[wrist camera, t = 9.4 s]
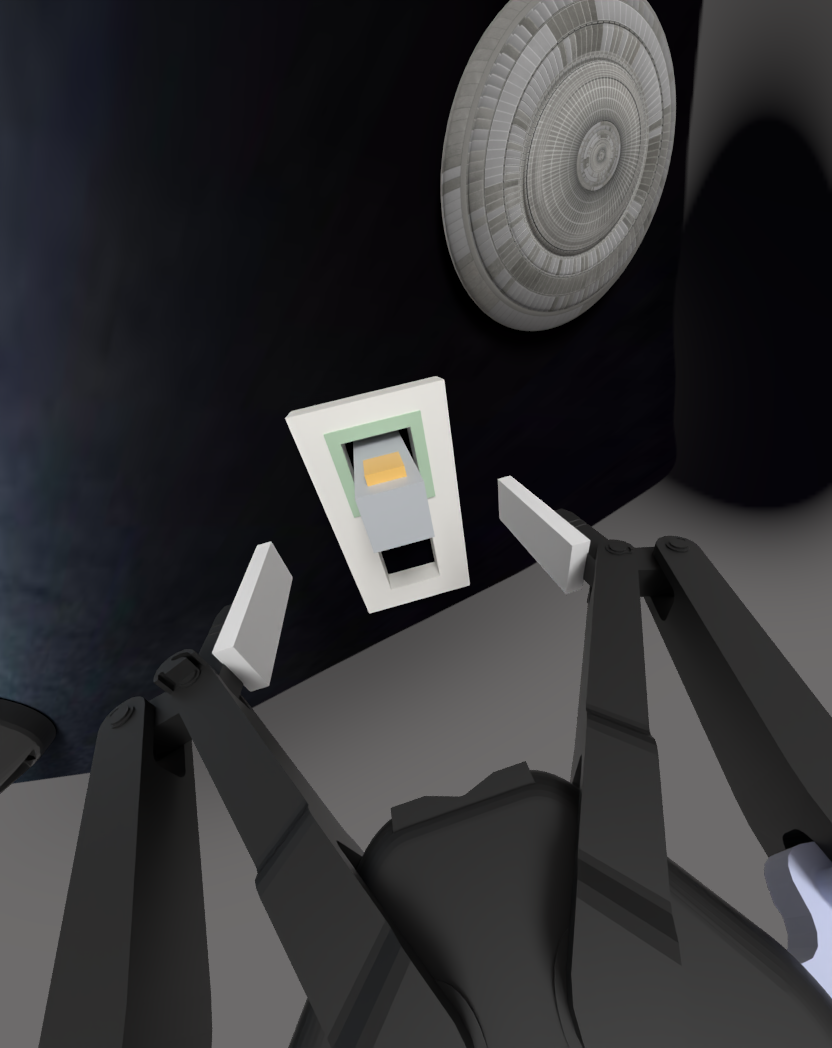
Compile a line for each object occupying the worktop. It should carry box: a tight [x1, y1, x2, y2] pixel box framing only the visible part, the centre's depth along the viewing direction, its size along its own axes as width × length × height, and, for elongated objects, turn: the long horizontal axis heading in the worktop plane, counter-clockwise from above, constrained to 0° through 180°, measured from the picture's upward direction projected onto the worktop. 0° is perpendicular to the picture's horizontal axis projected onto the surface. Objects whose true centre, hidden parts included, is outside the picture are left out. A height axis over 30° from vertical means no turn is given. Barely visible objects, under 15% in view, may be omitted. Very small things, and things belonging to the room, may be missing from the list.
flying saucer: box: [441, 0, 676, 331], centre depth 17 cm, size 15×15×6 cm
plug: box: [353, 431, 435, 553], centre depth 22 cm, size 4×5×11 cm
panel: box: [285, 376, 470, 614], centre depth 29 cm, size 12×22×3 cm, turn 11°
